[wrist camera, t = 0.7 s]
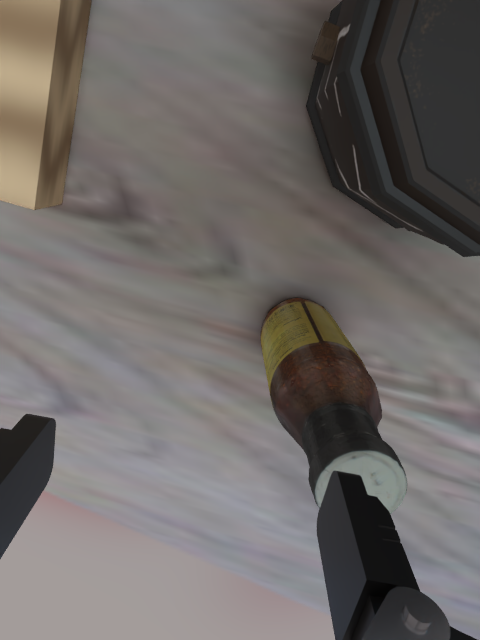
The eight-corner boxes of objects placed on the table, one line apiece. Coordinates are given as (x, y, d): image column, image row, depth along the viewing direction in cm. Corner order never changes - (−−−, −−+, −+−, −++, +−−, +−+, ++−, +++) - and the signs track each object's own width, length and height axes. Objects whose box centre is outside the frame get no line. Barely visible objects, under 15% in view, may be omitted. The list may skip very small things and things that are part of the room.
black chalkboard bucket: (341, -92, 28) (443, -374, 14) (601, -14, 29) (962, -197, 15) (268, 194, 34) (284, 216, 19) (488, 250, 35) (664, 311, 20)
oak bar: (51, -167, 28) (10, -235, 23) (114, -145, 28) (86, -208, 23) (12, 189, 35) (-26, 193, 30) (63, 204, 35) (34, 209, 30)
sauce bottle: (257, 361, 39) (266, 546, 20) (262, 292, 37) (277, 424, 18) (333, 366, 39) (413, 554, 20) (342, 296, 37) (441, 433, 18)
